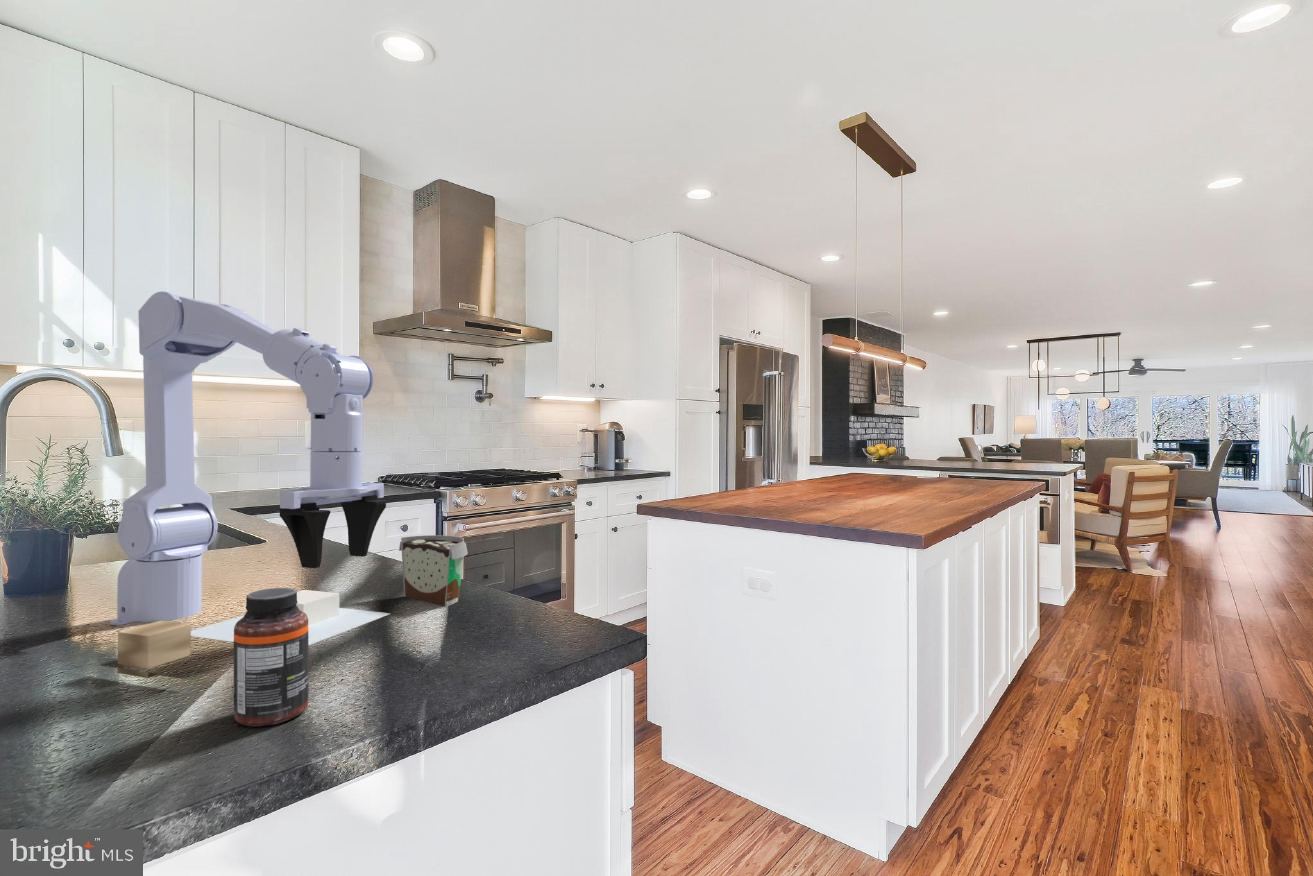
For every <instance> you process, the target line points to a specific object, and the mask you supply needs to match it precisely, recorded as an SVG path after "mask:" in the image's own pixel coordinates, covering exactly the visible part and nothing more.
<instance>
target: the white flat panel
mask: <svg viewBox="0 0 1313 876" xmlns="http://www.w3.org/2000/svg"><path fill="white" fill-rule="evenodd" d="M391 614H392V613H389V612H381V611H373V610H372V611H371V610H364V609H355V608H354V609H353V608H345V607H339V615H338V616H336V617H333V618H330V619H327V620H324V621H321V622H318V623H315V624H313V625H310V626H308V636H309V638H308V640H309V643H308V646H310V645H314V644H316V643H318V642H321V641H324V640H326V639H330V638H331V637H335V636H336V635H337V636H338V635H339V634H342V633H344V632H347V631H350V630H352V629H354V628H357V627H360V626H363V625H366V624H368V623H370V622H373V621H377V620H378V619H381V618H384V617H385V616H386V617H387V616H389V615H391ZM244 615H245V614H244ZM244 615H243V614H242V615H241V616H237V617H233V618H230V619H227V620H224V621H220V622H216V623H213V624H210V625H207V626H203V627H200V628H196V629H193V630H192V629H191V637H192V638H198V639H199V638H200V639H207V640H212V641H213V640H214V641H221V642H228V643H234V627H235V625H236V623H237V622H238V621H239V620H240V619H241V618H243V617H244Z"/></svg>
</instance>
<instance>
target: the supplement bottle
mask: <svg viewBox="0 0 1313 876" xmlns="http://www.w3.org/2000/svg"><path fill="white" fill-rule="evenodd" d="M297 592H298V591H297V590H296V589H294V588H292V587H272V588H265V589H261V590H260V589H259V590H256V591H252V592H250V593H248V594H247V595H246V599H245V600H246V602H245V603H246V604H245V609H246V612H245V614H244V617H243V618H241V619H240V620H239V621H238V622H237V623H236V625H235V627H234V642H233V647H232V648H233V711H234V712H233V714H234V715H233V716H234V721H235V722H237V724H240V725H241V726H247V727H253V728H254V727H269V726H272V725H278V724H280V723H284V722H286V721H289V720H292V719H293V718H296V717H297V716H299V715H301V714H303V712H305V710H306V709H307V707H308V705H309V683H310V682H309V645H308V643H309V640H308V638H309V636H308V617H307V615H306V614H305V613H304V612H303V611H300V610H299V608H298V607H297V605H296V604H297V603H298V602H297Z"/></svg>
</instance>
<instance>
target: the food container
mask: <svg viewBox="0 0 1313 876" xmlns="http://www.w3.org/2000/svg"><path fill="white" fill-rule="evenodd" d="M398 551H401V561H402V564H401V565H402V579H403V581H402V582H403V596H404V598H408V599H413V600H418V601H423V602H426V603H431V604H434V605H439V606H444V607H448V606H452V605H454V604H455V603H458V601H459V600H460V593H461V591H460V590H461V582H462V581H461V580H462V574H463V573H462V570H463V559H464V557H466V556H467V555H468V554H469V552H468V549H467V543H466V542H465V539H464V538H463V537H460V536H454V535H440V534H439V535H437V534H433V535H432V534H431V535H412V536H405V537H401V538H400V541H399V549H398Z"/></svg>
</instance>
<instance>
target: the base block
mask: <svg viewBox="0 0 1313 876" xmlns="http://www.w3.org/2000/svg"><path fill="white" fill-rule="evenodd" d="M297 602H298V603H297V604H296V605H297V607H298V608H299V610H300V611H303V612H304V613H305V614H306V615H307V617H308V626H310V625H313V624H315V623H318V622H321V621H324V620H327V619H330V618H333V617H336V616H338V615H339V608H340V593H339V592H331V591H330V592H329V591H319V590H309V589H303V590H300V591H297Z"/></svg>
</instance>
